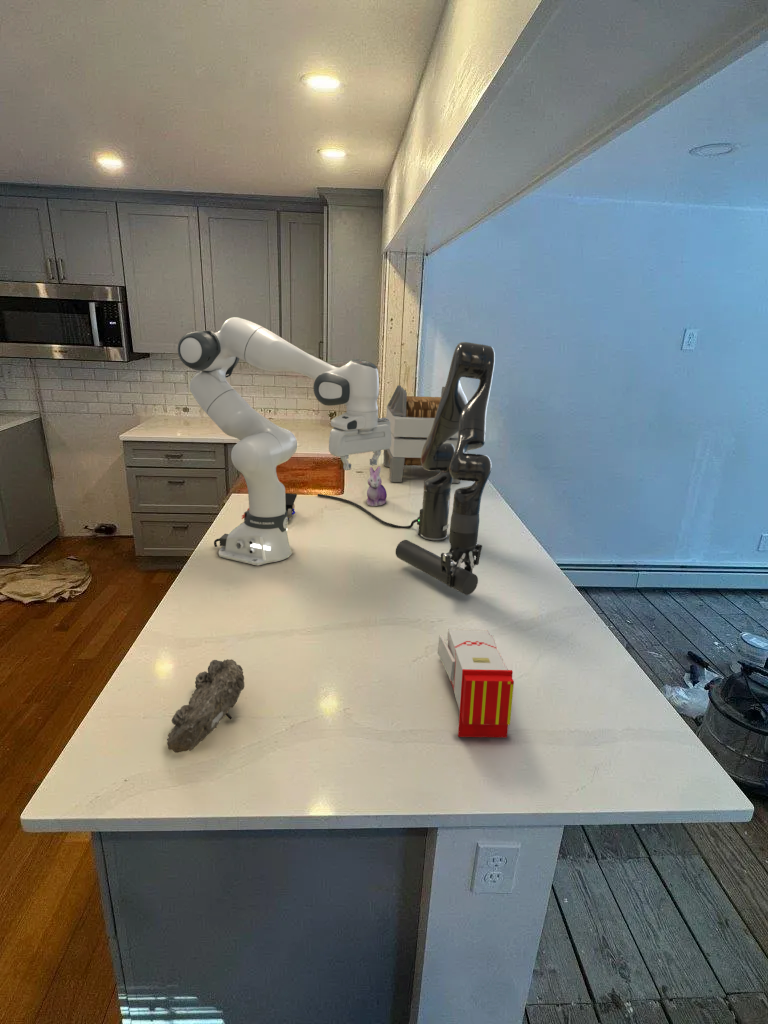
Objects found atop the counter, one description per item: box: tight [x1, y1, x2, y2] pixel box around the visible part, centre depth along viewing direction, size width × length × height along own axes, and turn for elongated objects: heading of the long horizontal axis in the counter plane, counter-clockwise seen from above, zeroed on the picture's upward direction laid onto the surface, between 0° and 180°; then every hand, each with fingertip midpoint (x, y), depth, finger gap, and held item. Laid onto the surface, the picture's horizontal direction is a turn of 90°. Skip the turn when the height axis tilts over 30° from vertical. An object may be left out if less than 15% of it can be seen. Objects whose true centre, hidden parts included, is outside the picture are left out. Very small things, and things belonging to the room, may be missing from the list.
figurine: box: [366, 466, 388, 507], centre depth 227 cm, size 9×10×15 cm
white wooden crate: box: [383, 384, 461, 484], centre depth 268 cm, size 34×33×41 cm
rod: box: [395, 539, 479, 596], centre depth 163 cm, size 28×6×6 cm, turn 39°
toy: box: [437, 628, 515, 738], centre depth 117 cm, size 12×13×30 cm
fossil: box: [166, 658, 245, 754], centre depth 106 cm, size 22×10×15 cm
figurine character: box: [285, 492, 298, 523], centre depth 209 cm, size 7×8×15 cm
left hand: (360, 467), depth 164 cm, fingers open, 8 cm apart
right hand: (458, 582), depth 157 cm, fingers closed on rod, 6 cm apart
